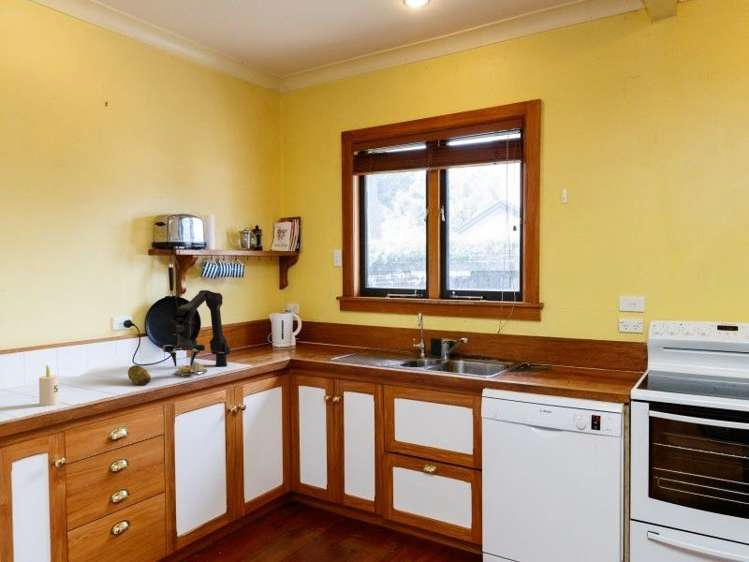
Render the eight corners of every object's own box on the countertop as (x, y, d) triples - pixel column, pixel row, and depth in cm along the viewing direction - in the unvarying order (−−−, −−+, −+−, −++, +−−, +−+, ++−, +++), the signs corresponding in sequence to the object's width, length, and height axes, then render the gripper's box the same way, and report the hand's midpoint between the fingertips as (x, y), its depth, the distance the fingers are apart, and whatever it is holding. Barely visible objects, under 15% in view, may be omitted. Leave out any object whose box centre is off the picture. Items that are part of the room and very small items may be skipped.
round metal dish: (178, 370, 289) (178, 365, 289) (208, 369, 291) (208, 364, 291) (172, 376, 274) (172, 370, 274) (204, 375, 276) (204, 369, 276)
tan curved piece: (177, 369, 284) (177, 359, 284) (199, 367, 290) (199, 357, 290) (185, 375, 269) (185, 365, 269) (208, 372, 275) (208, 363, 275)
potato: (132, 387, 250) (132, 369, 249) (126, 382, 260) (126, 364, 260) (151, 385, 254) (151, 367, 254) (145, 380, 265) (145, 363, 265)
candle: (50, 406, 216) (50, 367, 215) (35, 405, 217) (35, 366, 217) (62, 402, 222) (62, 364, 222) (47, 401, 223) (47, 363, 223)
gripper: (167, 335, 261) (166, 369, 261) (208, 334, 271) (207, 367, 271) (162, 333, 271) (161, 365, 271) (202, 332, 281) (201, 363, 281)
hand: (183, 365), depth 273 cm, fingers open, 7 cm apart
